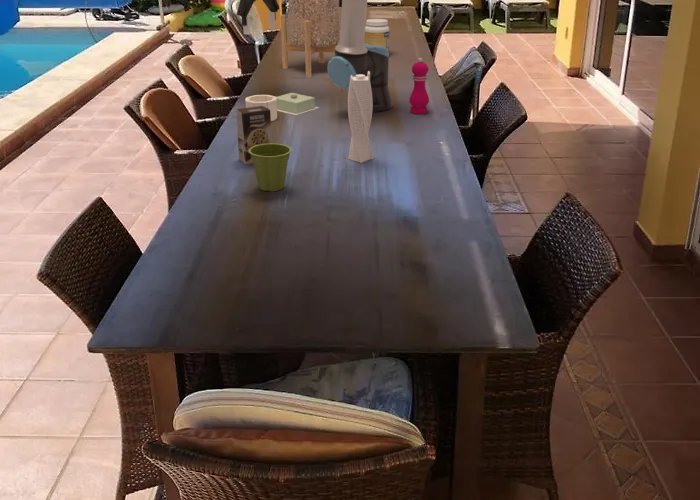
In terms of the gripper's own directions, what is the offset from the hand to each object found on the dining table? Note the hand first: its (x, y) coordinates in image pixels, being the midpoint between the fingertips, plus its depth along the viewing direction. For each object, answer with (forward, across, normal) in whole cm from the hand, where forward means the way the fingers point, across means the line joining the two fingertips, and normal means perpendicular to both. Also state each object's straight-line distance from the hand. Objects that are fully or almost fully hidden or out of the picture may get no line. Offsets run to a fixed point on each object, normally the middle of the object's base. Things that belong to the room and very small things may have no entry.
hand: (259, 31), depth 305 cm
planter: (+25, -48, -17) cm, 57 cm away
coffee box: (+26, +56, +54) cm, 82 cm away
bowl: (+26, +23, +23) cm, 41 cm away
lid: (+25, +6, +23) cm, 35 cm away
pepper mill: (+26, -20, +62) cm, 70 cm away
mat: (+26, +6, +23) cm, 35 cm away
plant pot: (+26, +70, +75) cm, 106 cm away
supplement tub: (+25, -88, -13) cm, 93 cm away
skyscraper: (+27, +35, +79) cm, 90 cm away
